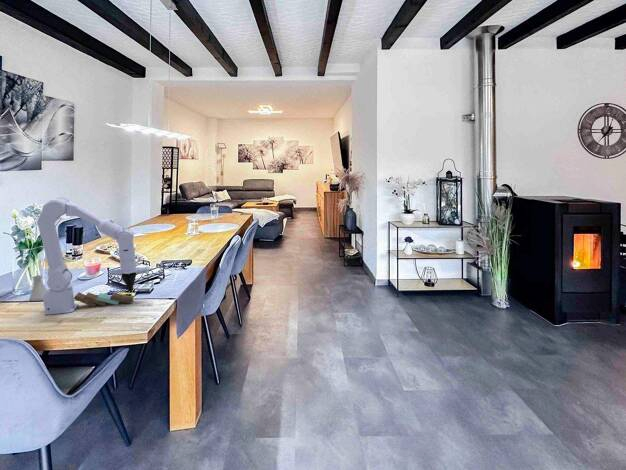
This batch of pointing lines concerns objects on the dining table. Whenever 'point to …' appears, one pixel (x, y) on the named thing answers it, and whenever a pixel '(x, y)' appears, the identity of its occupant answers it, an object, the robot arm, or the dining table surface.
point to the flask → (37, 289)
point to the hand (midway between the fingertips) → (130, 290)
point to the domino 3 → (106, 299)
